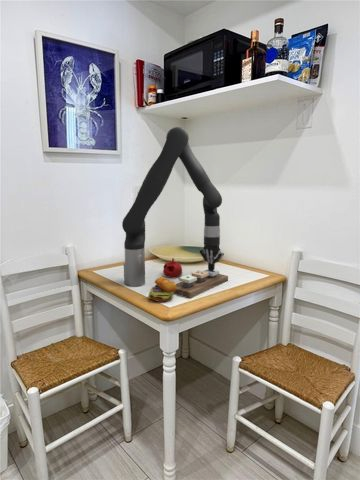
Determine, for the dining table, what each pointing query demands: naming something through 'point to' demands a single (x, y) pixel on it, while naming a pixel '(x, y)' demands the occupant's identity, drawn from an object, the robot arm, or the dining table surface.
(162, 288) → the cheeseburger
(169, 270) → the pomegranate
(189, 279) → the key one
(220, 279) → the key board
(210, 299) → the dining table surface
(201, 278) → the key two
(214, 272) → the key three
